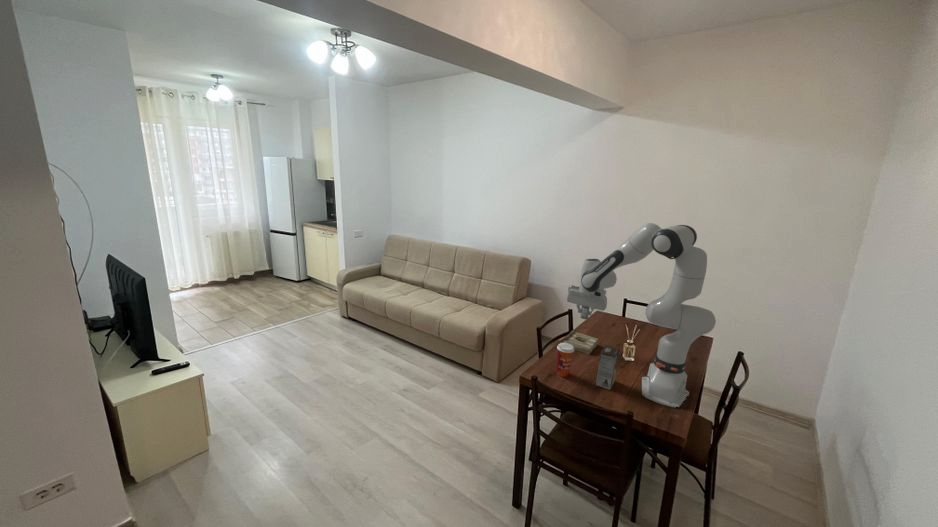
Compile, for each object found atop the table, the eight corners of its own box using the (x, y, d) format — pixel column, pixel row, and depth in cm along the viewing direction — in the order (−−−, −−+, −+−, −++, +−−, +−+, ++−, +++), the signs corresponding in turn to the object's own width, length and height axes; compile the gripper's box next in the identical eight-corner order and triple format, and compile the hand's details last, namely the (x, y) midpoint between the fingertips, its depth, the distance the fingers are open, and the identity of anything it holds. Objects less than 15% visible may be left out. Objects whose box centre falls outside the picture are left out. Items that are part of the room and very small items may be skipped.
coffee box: (600, 376, 170) (605, 344, 166) (615, 380, 167) (620, 348, 163) (595, 385, 163) (600, 352, 159) (610, 390, 160) (616, 356, 156)
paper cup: (559, 379, 166) (562, 350, 163) (550, 370, 173) (554, 342, 170) (574, 377, 168) (578, 349, 165) (565, 368, 175) (569, 341, 172)
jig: (589, 354, 190) (590, 346, 189) (563, 346, 198) (564, 338, 197) (597, 344, 201) (598, 337, 200) (572, 337, 209) (573, 329, 208)
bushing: (586, 320, 193) (588, 307, 191) (579, 317, 195) (580, 305, 193) (589, 317, 196) (591, 305, 194) (581, 315, 199) (583, 303, 197)
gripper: (566, 285, 195) (563, 310, 198) (606, 295, 184) (602, 320, 187) (570, 283, 200) (567, 307, 203) (609, 291, 189) (605, 317, 192)
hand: (584, 313), depth 195 cm, fingers closed on bushing, 4 cm apart
